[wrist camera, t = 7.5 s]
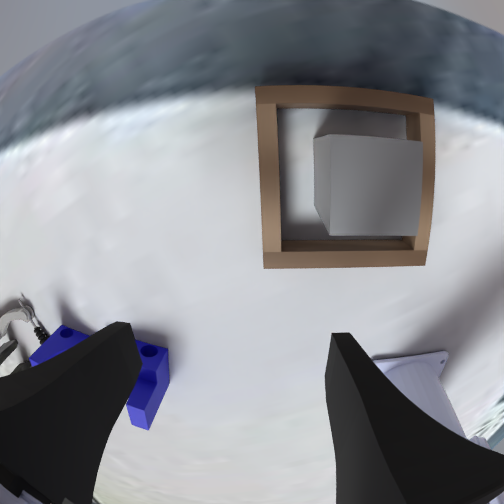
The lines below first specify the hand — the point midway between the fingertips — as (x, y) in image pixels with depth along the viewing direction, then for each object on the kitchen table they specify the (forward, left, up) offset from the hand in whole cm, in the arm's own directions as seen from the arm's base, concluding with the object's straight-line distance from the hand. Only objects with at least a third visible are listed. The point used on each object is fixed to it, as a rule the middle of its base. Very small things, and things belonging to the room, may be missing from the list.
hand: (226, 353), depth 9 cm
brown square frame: (+5, -6, -9) cm, 12 cm away
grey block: (+5, -6, -10) cm, 12 cm away
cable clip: (-9, +14, -10) cm, 19 cm away
